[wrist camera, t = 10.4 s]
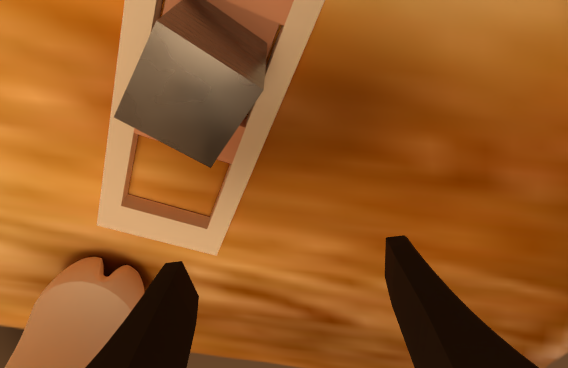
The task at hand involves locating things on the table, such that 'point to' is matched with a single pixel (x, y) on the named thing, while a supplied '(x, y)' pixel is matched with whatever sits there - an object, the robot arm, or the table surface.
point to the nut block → (195, 80)
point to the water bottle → (77, 315)
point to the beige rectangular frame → (241, 147)
